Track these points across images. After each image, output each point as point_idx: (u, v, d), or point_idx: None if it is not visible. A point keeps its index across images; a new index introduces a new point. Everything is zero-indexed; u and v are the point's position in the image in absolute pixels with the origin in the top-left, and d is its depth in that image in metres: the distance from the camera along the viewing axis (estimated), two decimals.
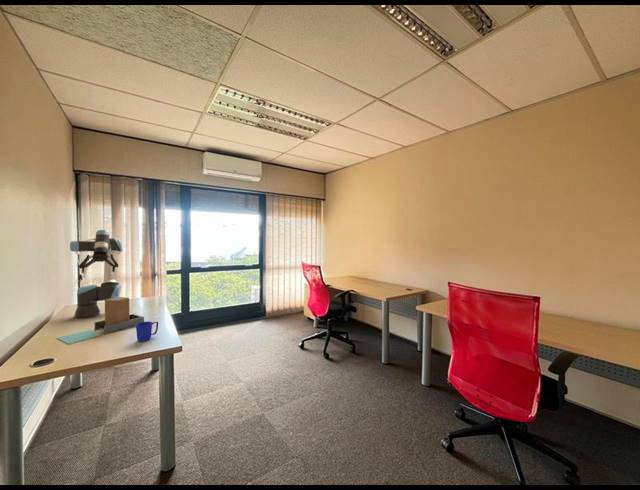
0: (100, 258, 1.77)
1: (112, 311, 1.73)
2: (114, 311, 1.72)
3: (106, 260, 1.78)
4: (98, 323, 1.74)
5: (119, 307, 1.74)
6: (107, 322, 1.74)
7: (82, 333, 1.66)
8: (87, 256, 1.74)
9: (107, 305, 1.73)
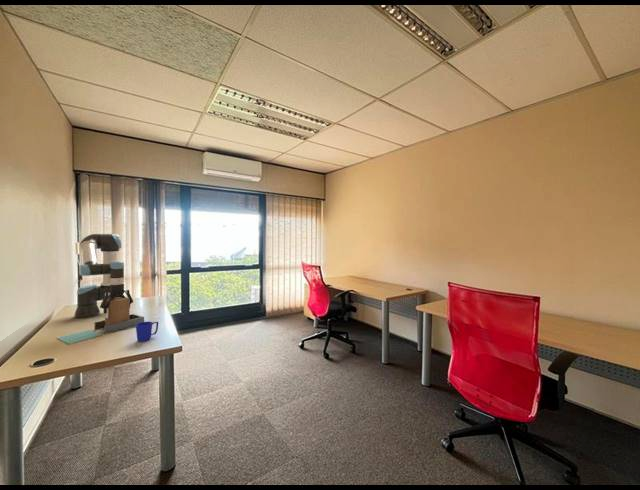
0: (118, 295, 1.78)
1: (112, 310, 1.73)
2: (114, 311, 1.72)
3: (123, 297, 1.80)
4: (98, 323, 1.74)
5: (119, 307, 1.74)
6: (106, 322, 1.74)
7: (82, 333, 1.66)
8: (106, 295, 1.72)
9: None
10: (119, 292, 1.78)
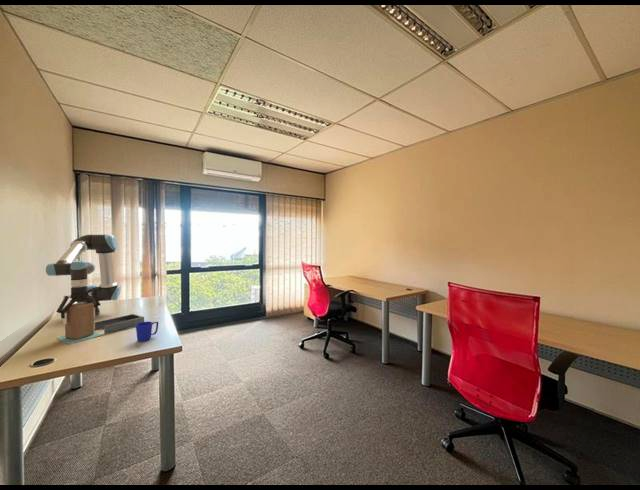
0: (81, 299, 1.60)
1: (73, 318, 1.55)
2: (74, 318, 1.55)
3: (87, 301, 1.63)
4: (98, 323, 1.74)
5: (81, 314, 1.57)
6: (67, 331, 1.56)
7: None
8: (66, 298, 1.54)
9: (67, 312, 1.56)
10: (81, 295, 1.60)
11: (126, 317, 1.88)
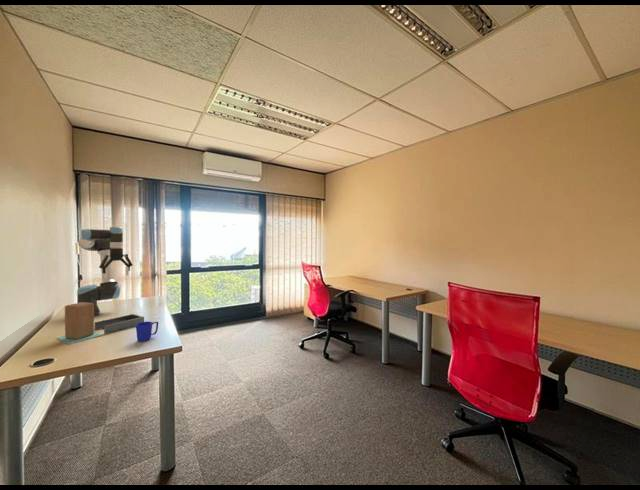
0: (117, 258, 1.91)
1: (73, 318, 1.55)
2: (74, 318, 1.55)
3: (123, 260, 1.94)
4: (98, 323, 1.74)
5: (81, 314, 1.57)
6: (67, 331, 1.56)
7: None
8: (106, 256, 1.85)
9: (67, 312, 1.56)
10: (118, 256, 1.92)
11: (126, 317, 1.88)
